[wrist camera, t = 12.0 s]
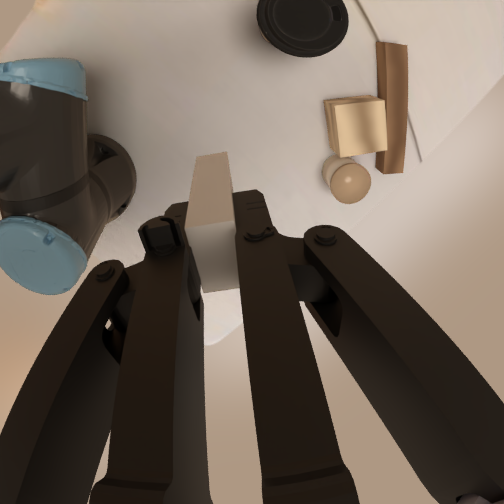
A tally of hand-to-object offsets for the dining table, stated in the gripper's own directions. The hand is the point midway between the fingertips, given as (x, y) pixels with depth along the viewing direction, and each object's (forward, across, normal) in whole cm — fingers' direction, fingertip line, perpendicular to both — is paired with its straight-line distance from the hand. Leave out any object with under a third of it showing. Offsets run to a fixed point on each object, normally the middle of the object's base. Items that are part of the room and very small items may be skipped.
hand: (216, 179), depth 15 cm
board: (+30, +27, -3) cm, 41 cm away
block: (+31, +20, -6) cm, 37 cm away
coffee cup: (+31, +10, +10) cm, 34 cm away
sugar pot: (+31, +18, -14) cm, 38 cm away
